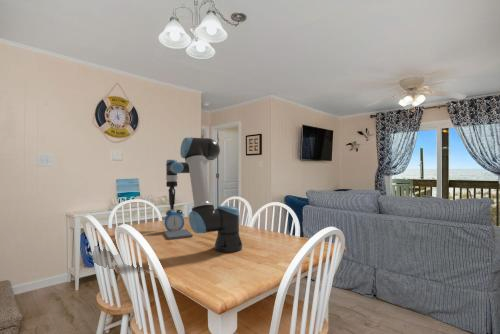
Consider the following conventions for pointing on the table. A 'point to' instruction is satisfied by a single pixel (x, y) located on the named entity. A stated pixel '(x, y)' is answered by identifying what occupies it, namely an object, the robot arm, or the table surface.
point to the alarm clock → (174, 220)
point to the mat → (177, 234)
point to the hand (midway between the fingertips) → (171, 213)
